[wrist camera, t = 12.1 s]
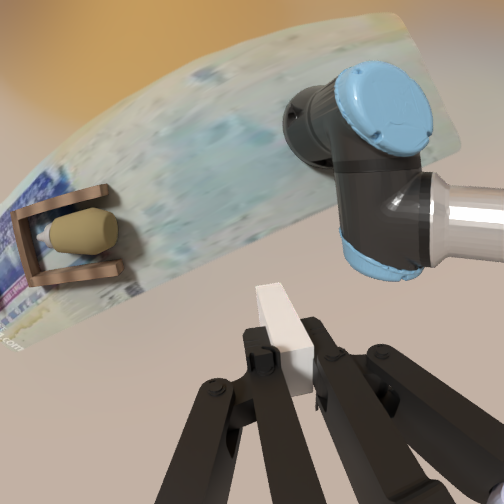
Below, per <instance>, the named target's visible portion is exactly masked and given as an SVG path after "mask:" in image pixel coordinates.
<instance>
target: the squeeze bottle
mask: <svg viewBox="0 0 504 504" xmlns="http://www.w3.org/2000/svg"><path fill="white" fill-rule="evenodd" d="M117 237H118V226H117V221H116V218H115V216H114V215H113V213H111V212H109V211H105V210H101V209H97V208H89V209H85V210H82V211H78V212H75V213H71V214H68V215H64V216H61V217H58V218H56V219H55V220H54V221H53V222H52V223H50V224H48V225H47V226H46V227H45V230H44V232H42V233H40V234H38V235H37V240H39V241H44V242H45V243H46V245H47V246H48V247H49V248H54V249H55V250H56V251H57V252H61V253H75V254H89V255H97V254H99V253H101V252H103V251H105V250H107V249H109V248H111V247H113V246H114V245H115V243H116V242H117Z"/></svg>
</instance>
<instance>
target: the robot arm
mask: <svg viewBox="0 0 504 504" xmlns="http://www.w3.org/2000/svg"><path fill="white" fill-rule="evenodd" d="M283 132H284V136H285V139H286V141H287V143H288V145H289V147H290V148H291V150H292V151H293V152H294V154H295V155H296V156H297V157H299V158H300V159H301V160H302V161H304V162H305V163H307V164H309V165H312V166H315V167H318V168H334V176H335V184H336V192H337V201H338V210H339V219H340V228H339V233H340V236H341V238H342V244H343V252H344V256H345V259H346V260H347V261H348V262H349V264H350V265H351V267H352V268H354V269H355V270H356V271H358V272H360V273H361V274H363V275H365V276H368V277H371V278H374V279H378V280H383V281H392V282H399V281H400V280H401V279H403V280H405V281H407V280H411V279H414V278H416V277H417V276H419V275H420V274H421V273H422V270H423V269H424V267H431V268H435V267H436V266H437V265H438V264H439V263H441V262H442V260H444V259H445V258H447V257H457V258H466V259H476V260H485V261H495V262H502V263H504V189H501V188H488V187H472V186H453V185H449V184H447V183H446V182H445V181H444V180H443V179H442V178H441V177H440V176H439V175H438V174H437V173H435V172H422V168H421V159H420V151H421V150H423V149H424V148H425V147H426V146H427V144H428V143H429V138H428V137H429V136H431V135H432V132H433V116H432V112H431V108H430V105H429V102H428V100H427V98H426V96H425V94H424V92H423V91H422V89H421V88H420V87H419V85H418V84H417V83H416V82H415V81H414V80H413V79H411V78H410V77H409V76H408V75H407V74H406V72H404V71H403V70H401V69H400V68H398V67H396V66H394V65H392V64H389V63H386V62H382V61H366V62H362V63H359V64H357V65H355V66H353V67H349V69H345V70H344V71H343V72H341V73H340V75H338V76H337V77H336V78H335V79H333V80H332V81H331V82H329V83H328V84H327V85H325V86H323V85H319V86H312V87H309V88H306V89H304V90H302V91H301V92H299V93H298V94H297V95H296V96H295V97H293V98H292V100H291V101H290V102H289V103H288V105H287V107H286V109H285V112H284V115H283ZM256 296H257V303H258V313H259V321H260V327H256V328H249V329H246V330H245V332H244V334H243V341H244V347H245V354H246V361H247V372H246V373H245V375H244V376H243V377H241V378H240V379H238V380H235V381H233V382H230V381H228V380H227V379H223V378H214V379H211V380H208V381H206V382H205V383H203V384H202V386H201V387H200V389H199V391H198V394H197V396H196V399H195V401H194V404H193V407H192V409H191V412H190V414H189V417H188V419H187V422H186V424H185V427H184V429H183V432H182V435H181V437H180V440H179V442H178V445H177V448H176V450H175V453H174V455H173V458H172V460H171V463H170V465H169V468H168V470H167V473H166V475H165V478H164V480H163V483H162V485H161V488H160V491H159V493H158V496H157V498H156V501H155V503H154V504H227V501H228V496H229V492H230V487H231V482H232V478H233V473H234V469H235V464H236V459H237V454H238V449H239V444H240V439H241V435H242V429H243V426H246V425H249V424H251V423H253V422H256V421H257V424H258V430H259V435H260V440H261V446H262V451H263V457H264V462H265V467H266V472H267V477H268V483H269V488H270V493H271V497H272V502H273V504H327V503H326V500H325V497H324V494H323V491H322V488H321V485H320V482H319V480H318V477H317V474H316V471H315V468H314V465H313V462H312V459H311V456H310V453H309V450H308V447H307V444H306V441H305V438H304V435H303V432H302V429H301V426H300V423H299V420H298V417H297V414H296V410H295V408H294V405H293V401H292V398H291V397H294V396H298V395H303V394H307V393H312V392H313V385H314V387H315V390H316V405H315V408H316V411H317V410H318V406H319V408H320V410H321V413H322V415H323V417H324V420H325V422H326V425H327V427H328V430H329V432H330V435H331V437H332V439H333V442H334V444H335V447H336V449H337V452H338V454H339V456H340V459H341V461H342V464H343V466H344V469H345V471H346V473H347V476H348V478H349V481H350V483H351V486H352V488H353V491H354V493H355V495H356V498H357V500H358V503H359V504H456V503H455V502H454V500H453V498H452V497H451V495H450V493H449V492H448V490H447V488H446V487H445V486H444V484H443V483H442V482H440V481H439V480H433V479H429V478H428V477H427V476H426V474H425V473H424V471H423V469H422V468H421V466H420V464H419V463H418V461H417V459H416V458H415V456H414V455H413V453H412V451H411V450H410V448H409V446H410V447H411V448H412V449H413V450H415V451H416V452H417V453H418V454H419V455H420V456H421V457H422V458H423V459H424V460H425V461H427V462H428V463H429V464H430V465H431V466H432V467H433V468H434V469H435V470H437V471H438V472H439V473H440V474H441V475H442V476H444V478H446V479H447V480H448V481H449V482H450V483H451V484H452V485H454V486H455V487H456V488H457V489H458V490H460V491H461V492H462V493H463V494H464V495H466V496H467V497H469V498H470V499H472V500H474V501H476V502H478V503H481V504H504V424H502V423H501V422H499V421H498V420H497V419H495V418H493V417H492V416H491V415H489V414H488V413H486V412H485V411H484V410H482V409H481V408H479V407H478V406H477V405H475V404H474V403H472V402H471V401H469V400H468V399H467V398H465V397H464V396H462V395H461V394H459V393H458V392H456V391H455V390H454V389H452V388H451V387H449V386H448V385H446V384H445V383H444V382H442V381H441V380H439V379H438V378H436V377H435V376H433V375H432V374H431V373H429V372H428V371H426V370H425V369H423V368H422V367H421V366H419V365H418V364H416V363H415V362H413V361H412V360H410V359H409V358H408V357H406V356H405V355H403V354H402V353H400V352H399V351H397V350H396V349H395V348H393V347H391V346H389V345H385V344H377V345H374V346H372V347H370V348H369V349H368V351H367V354H365V355H351V354H349V353H348V352H347V351H346V350H345V349H343V348H341V347H337V345H336V344H335V342H334V341H333V339H332V338H331V336H330V335H329V333H328V332H327V330H326V328H325V327H324V326H323V324H322V322H321V321H320V320H318V319H317V318H315V317H309V318H304V319H299V317H298V315H297V313H296V311H295V309H294V307H293V305H292V303H291V302H290V300H289V298H288V296H287V294H286V292H285V290H284V288H283V287H282V285H281V283H280V282H279V283H273V284H267V285H260V286H256ZM390 386H391V387H390ZM407 444H408V445H409V446H408V445H407Z"/></svg>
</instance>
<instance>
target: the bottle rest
mask: <svg viewBox="0 0 504 504" xmlns="http://www.w3.org/2000/svg"><path fill="white" fill-rule="evenodd" d="M105 195H109V192H108V186H107V184H101V185H97V186H93V187H89V188H85V189H81V190H78V191H74V192H71V193H67V194H64V195H60V196H57V197H54V198H51V199H47V200H44V201H41V202H38V203H35V204H32V205H29V206H26V207H23V208H21V209H18V210H15V211H12V212H10V214H11V219H12V224H13V229H14V234H15V238H16V243H17V247H18V251H19V255H20V258H21V262H22V266H23V269H24V272H25V276H26V279H27V282H28V285H29V287H36V286H44V285H52V284H59V283H67V282H74V281H82V280H90V279H97V278H104V277H112V276H118V275H119V274H120V273H121V272H122V271H123V270H124V266H123V262H122V259H117V260H110V261H104V262H97V263H91V264H85V265H79V266H72V267H66V268H60V269H54V270H48V271H42V272H41V271H40V267H39V264H38V260H37V257H36V253H35V249H34V245H33V241H32V236H31V232H30V227H29V222H28V217H29V216H32V215H35V214H38V213H42V212H45V211H48V210H52V209H55V208H59V207H62V206H66V205H70V204H73V203H77V202H81V201H85V200H89V199H93V198H97V197H101V196H105Z"/></svg>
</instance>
